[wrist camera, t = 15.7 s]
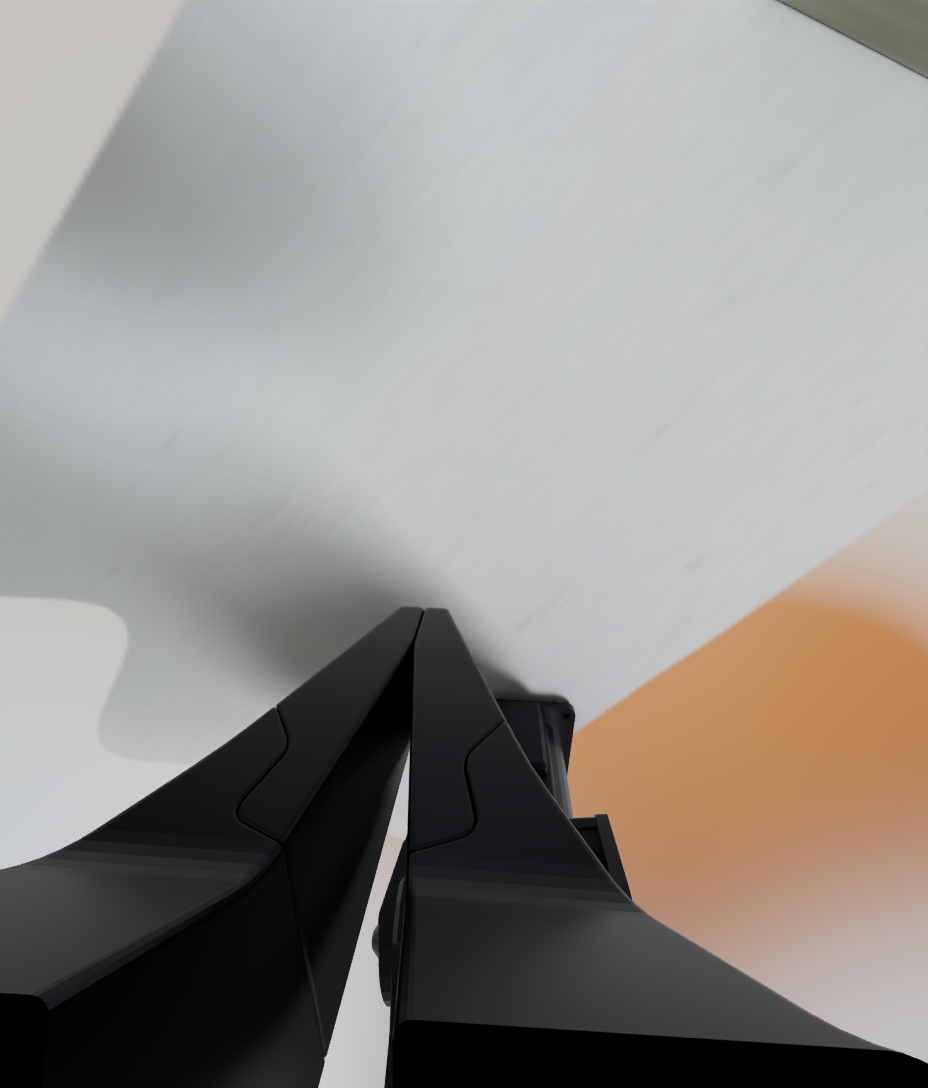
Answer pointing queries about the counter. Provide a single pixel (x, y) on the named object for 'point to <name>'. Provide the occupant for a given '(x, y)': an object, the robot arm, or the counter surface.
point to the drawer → (878, 25)
